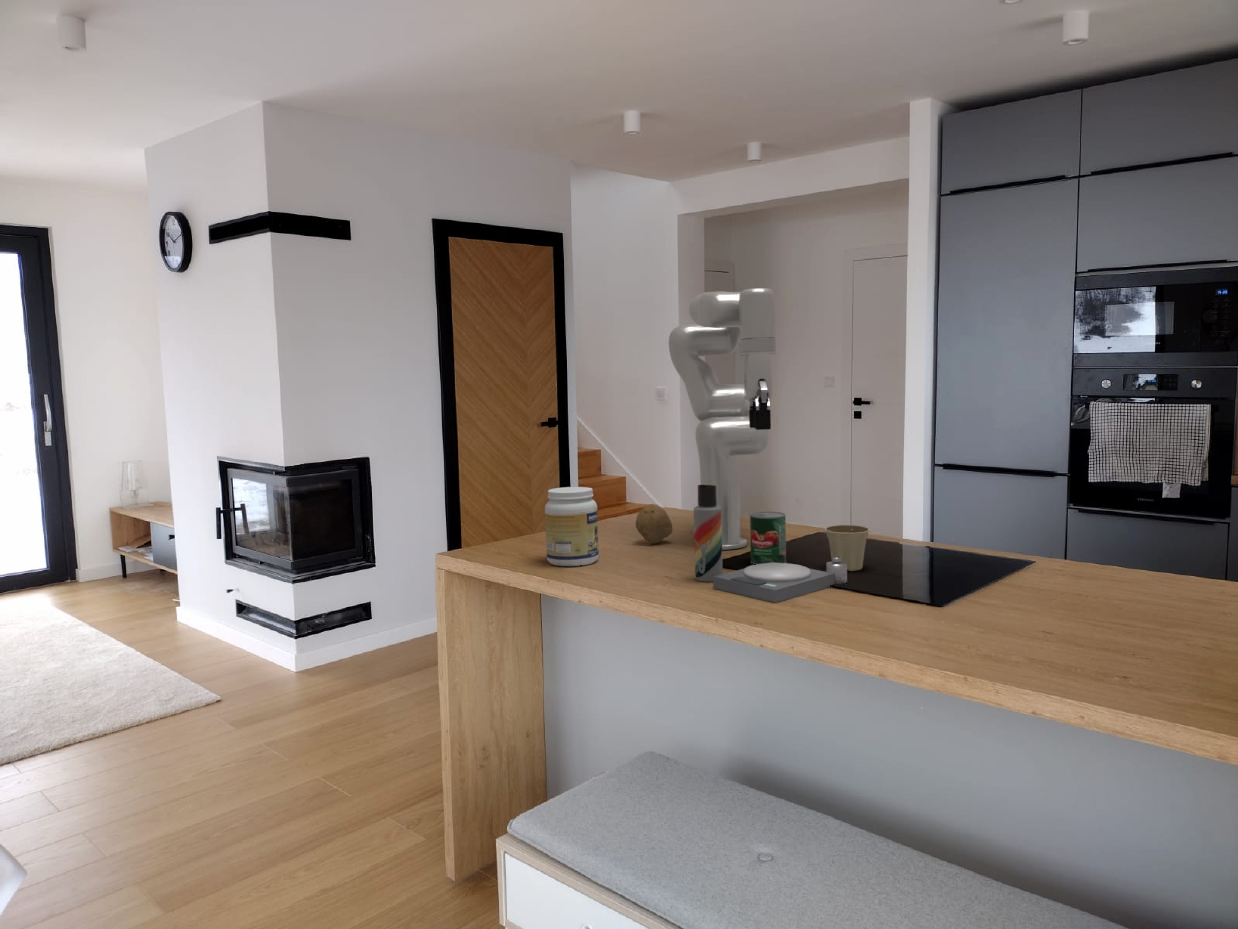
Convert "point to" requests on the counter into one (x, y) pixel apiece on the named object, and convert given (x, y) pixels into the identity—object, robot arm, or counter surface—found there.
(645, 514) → the brown rounded lump
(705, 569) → the lotion bottle
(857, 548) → the flower pot
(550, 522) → the supplement tub
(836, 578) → the calibration weight
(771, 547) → the canned tomato
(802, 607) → the counter surface
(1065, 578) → the counter surface
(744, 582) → the kitchen scale
